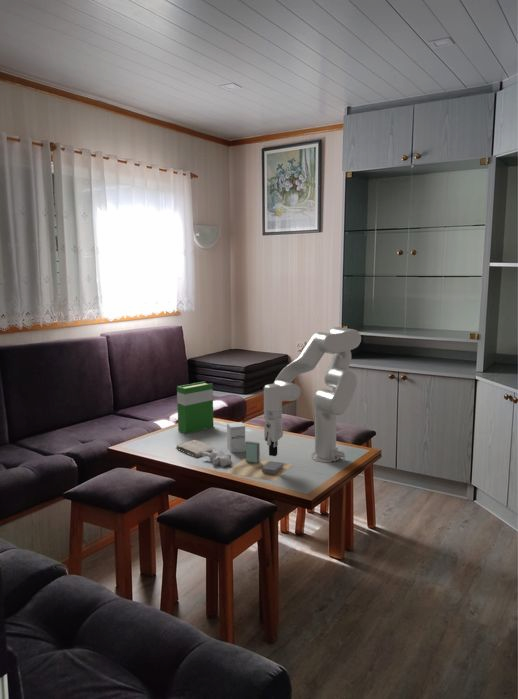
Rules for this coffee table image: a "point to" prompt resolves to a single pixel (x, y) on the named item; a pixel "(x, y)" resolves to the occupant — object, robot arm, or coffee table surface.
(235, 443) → the supplement box
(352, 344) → the robot arm
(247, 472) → the oak board
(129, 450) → the coffee table surface
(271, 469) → the tile near
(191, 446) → the grey tracked toy vehicle
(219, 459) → the bunny figurine
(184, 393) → the hardback book
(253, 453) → the tile far
